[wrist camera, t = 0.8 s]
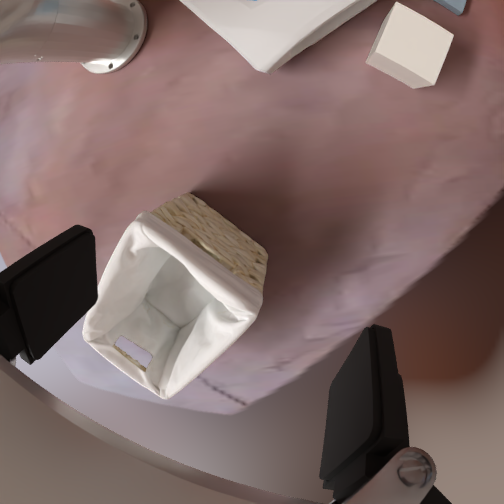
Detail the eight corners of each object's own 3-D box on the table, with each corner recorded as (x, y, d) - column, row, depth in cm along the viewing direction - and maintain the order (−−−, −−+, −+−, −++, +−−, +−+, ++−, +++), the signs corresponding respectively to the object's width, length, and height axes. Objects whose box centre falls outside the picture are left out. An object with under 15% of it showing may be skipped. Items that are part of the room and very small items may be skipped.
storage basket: (190, 176, 40) (128, 213, 27) (286, 251, 42) (265, 319, 29) (126, 285, 52) (76, 337, 39) (199, 342, 53) (165, 404, 40)
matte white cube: (365, 62, 29) (375, 51, 22) (383, 20, 26) (396, 1, 19) (413, 88, 29) (434, 85, 22) (431, 47, 26) (453, 35, 19)
